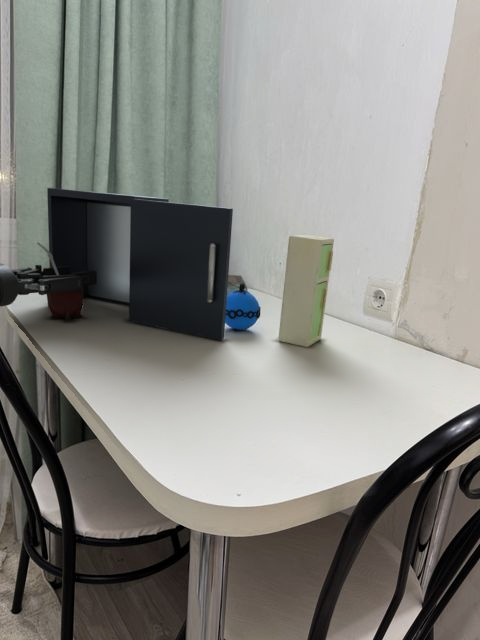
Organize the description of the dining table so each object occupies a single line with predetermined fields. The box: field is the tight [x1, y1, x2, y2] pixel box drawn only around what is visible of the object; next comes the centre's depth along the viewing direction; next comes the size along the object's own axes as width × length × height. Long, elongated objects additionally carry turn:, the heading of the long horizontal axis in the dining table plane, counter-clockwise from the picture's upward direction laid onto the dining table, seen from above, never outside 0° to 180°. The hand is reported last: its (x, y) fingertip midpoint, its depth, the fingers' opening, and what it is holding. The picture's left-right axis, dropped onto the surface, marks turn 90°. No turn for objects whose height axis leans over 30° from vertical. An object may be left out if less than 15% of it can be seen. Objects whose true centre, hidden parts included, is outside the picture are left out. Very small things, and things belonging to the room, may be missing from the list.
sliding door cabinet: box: [46, 187, 234, 341], centre depth 108 cm, size 45×15×26 cm, turn 66°
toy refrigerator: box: [278, 234, 335, 348], centre depth 101 cm, size 8×7×21 cm
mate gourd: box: [36, 242, 85, 322], centre depth 103 cm, size 8×8×15 cm
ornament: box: [225, 283, 261, 331], centre depth 107 cm, size 9×9×10 cm
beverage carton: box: [227, 274, 249, 295], centre depth 134 cm, size 8×19×7 cm, turn 7°
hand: (81, 274), depth 107 cm, fingers closed on mate gourd, 6 cm apart
